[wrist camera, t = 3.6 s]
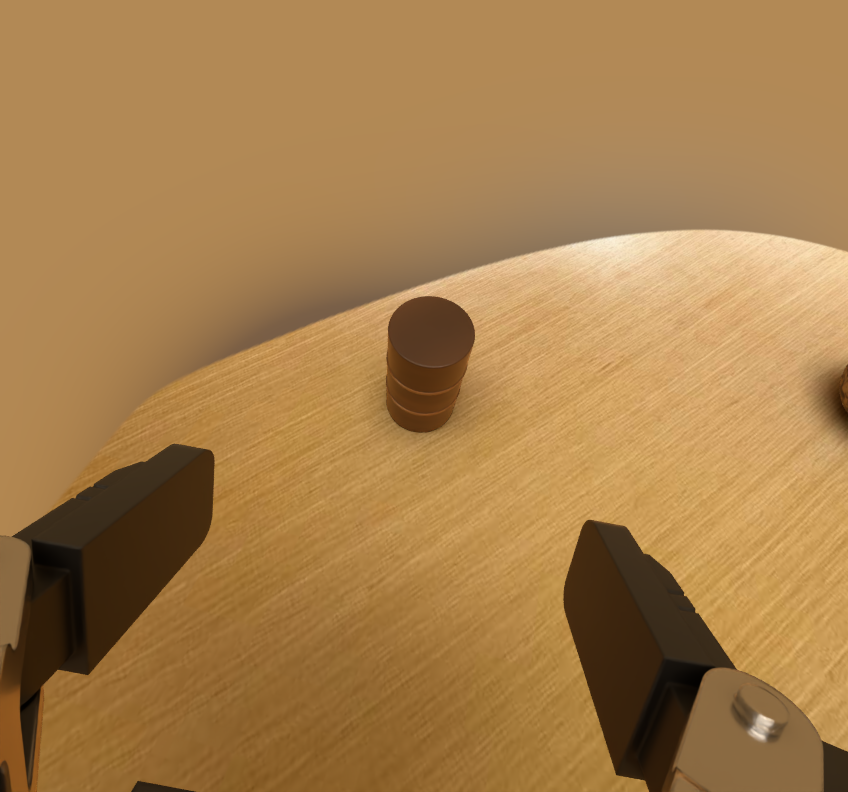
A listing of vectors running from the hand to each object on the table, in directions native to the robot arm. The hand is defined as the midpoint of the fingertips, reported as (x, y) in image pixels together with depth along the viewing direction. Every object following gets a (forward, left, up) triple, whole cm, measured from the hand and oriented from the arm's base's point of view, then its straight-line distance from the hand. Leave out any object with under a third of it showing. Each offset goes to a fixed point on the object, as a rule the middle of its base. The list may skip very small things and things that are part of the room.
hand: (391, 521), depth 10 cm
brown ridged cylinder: (-8, +9, -17) cm, 21 cm away
